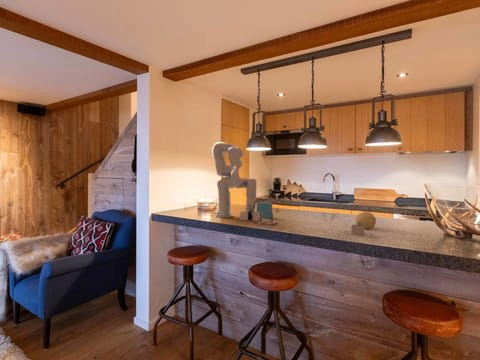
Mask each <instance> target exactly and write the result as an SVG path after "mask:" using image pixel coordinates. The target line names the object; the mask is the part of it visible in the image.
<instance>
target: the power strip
mask: <svg viewBox="0 0 480 360" xmlns="http://www.w3.org/2000/svg"><path fill="white" fill-rule="evenodd" d="M239 220H240V221H249V222H256V221H258V220H260V212H257V211H254V212H252V220H248V210H241V211H239Z"/></svg>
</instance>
